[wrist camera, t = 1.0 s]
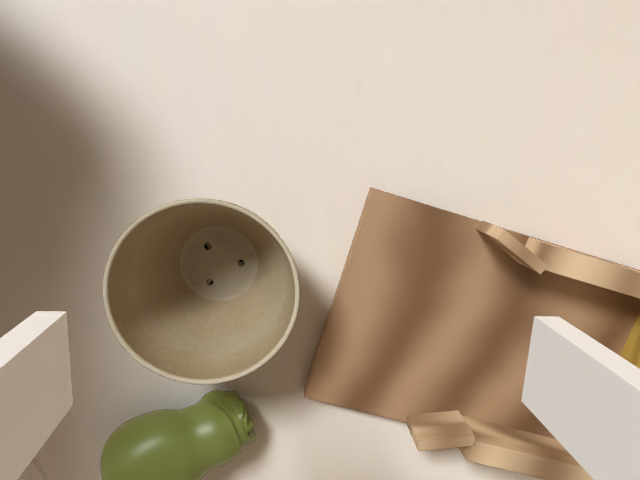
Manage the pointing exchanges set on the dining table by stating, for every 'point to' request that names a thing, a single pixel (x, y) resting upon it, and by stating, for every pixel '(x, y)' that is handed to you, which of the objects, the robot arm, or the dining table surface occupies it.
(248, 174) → the dining table surface
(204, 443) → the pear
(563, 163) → the dining table surface
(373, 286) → the slot board
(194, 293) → the flower pot
